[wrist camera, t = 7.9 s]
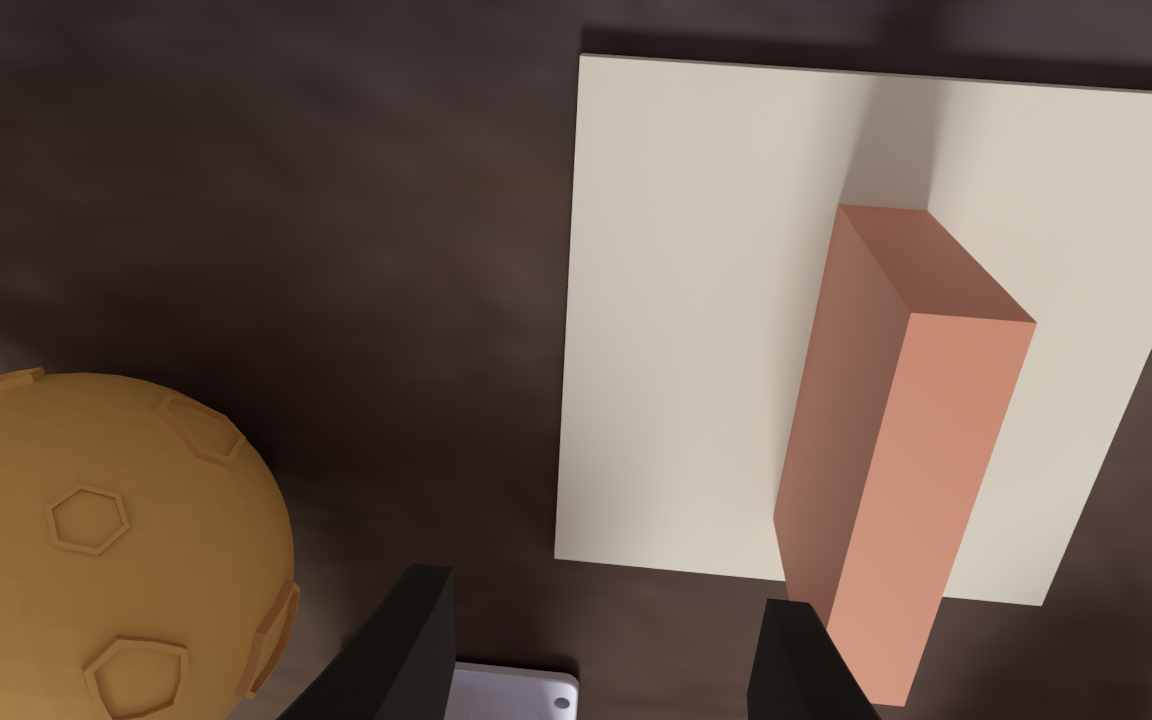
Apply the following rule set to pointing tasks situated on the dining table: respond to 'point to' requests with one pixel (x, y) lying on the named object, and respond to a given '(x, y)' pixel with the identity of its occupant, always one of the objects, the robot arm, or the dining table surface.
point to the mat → (792, 285)
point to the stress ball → (134, 554)
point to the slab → (893, 434)
